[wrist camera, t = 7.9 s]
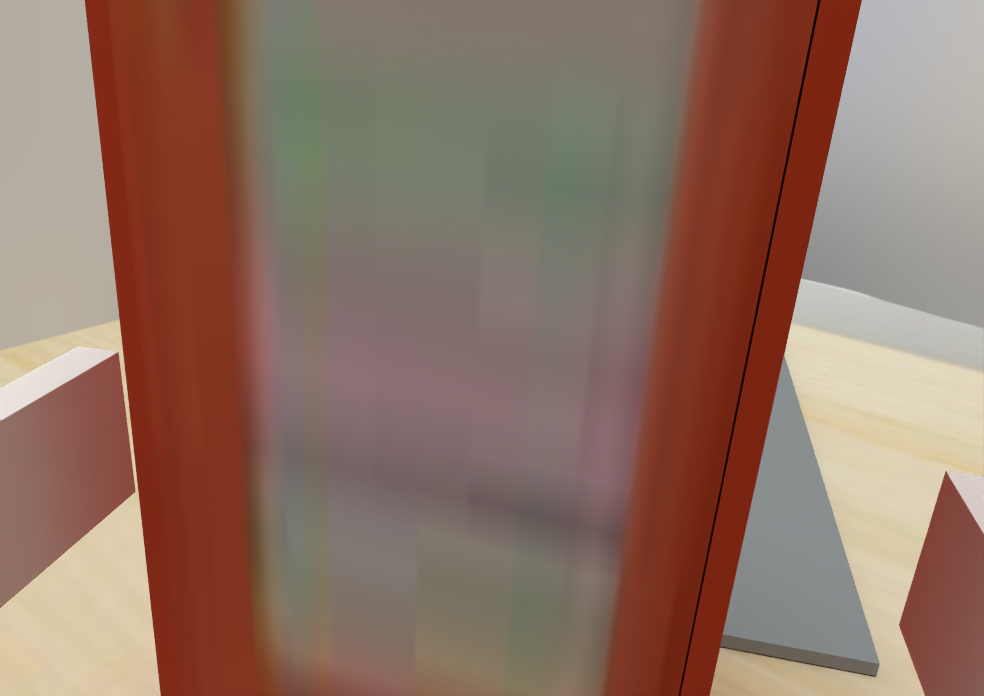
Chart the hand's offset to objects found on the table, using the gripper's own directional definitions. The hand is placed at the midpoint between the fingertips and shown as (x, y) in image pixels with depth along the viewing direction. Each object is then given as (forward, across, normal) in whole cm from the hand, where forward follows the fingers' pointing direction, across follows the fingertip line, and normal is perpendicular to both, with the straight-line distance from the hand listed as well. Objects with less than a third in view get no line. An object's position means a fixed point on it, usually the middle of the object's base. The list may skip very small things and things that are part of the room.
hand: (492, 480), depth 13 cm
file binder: (+5, +1, -16) cm, 17 cm away
